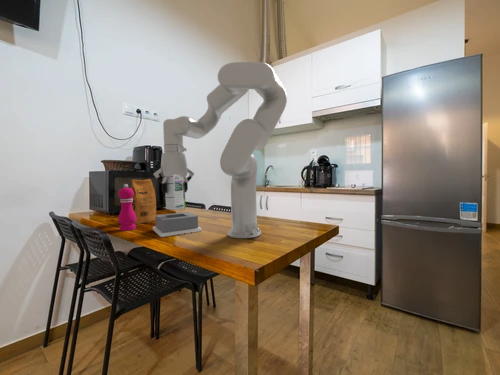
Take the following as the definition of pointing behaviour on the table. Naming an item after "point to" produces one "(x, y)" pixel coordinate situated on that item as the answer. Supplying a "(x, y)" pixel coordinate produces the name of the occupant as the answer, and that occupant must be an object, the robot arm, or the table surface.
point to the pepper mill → (126, 209)
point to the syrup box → (175, 192)
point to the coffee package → (143, 201)
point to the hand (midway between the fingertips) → (175, 192)
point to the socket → (176, 224)
